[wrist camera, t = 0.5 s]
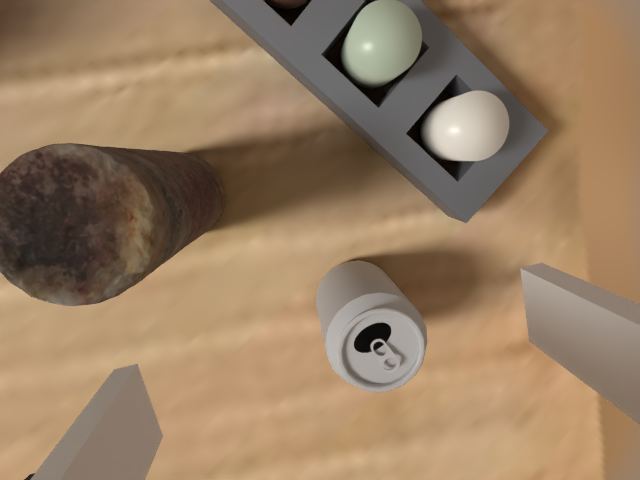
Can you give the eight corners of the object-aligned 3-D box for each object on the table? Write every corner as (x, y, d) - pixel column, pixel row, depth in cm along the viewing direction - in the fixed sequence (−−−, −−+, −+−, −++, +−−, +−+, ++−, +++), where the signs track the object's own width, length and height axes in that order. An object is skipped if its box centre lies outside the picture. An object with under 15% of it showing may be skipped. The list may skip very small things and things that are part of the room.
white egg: (408, 133, 36) (429, 130, 30) (448, 87, 35) (476, 75, 30) (449, 172, 36) (476, 175, 31) (489, 127, 36) (522, 122, 31)
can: (365, 242, 39) (400, 279, 28) (406, 304, 41) (455, 363, 29) (299, 287, 40) (306, 341, 28) (342, 346, 41) (365, 421, 30)
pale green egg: (328, 58, 34) (335, 41, 29) (368, 8, 33) (384, -18, 28) (373, 101, 35) (388, 92, 30) (413, 53, 34) (436, 35, 29)
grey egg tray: (188, -19, 34) (176, -42, 30) (267, -123, 33) (264, -160, 29) (448, 216, 40) (466, 222, 36) (521, 133, 39) (548, 130, 35)
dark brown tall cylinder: (125, 167, 36) (-60, 179, 17) (204, 137, 36) (112, 114, 17) (163, 247, 38) (34, 343, 18) (239, 218, 38) (190, 284, 18)
